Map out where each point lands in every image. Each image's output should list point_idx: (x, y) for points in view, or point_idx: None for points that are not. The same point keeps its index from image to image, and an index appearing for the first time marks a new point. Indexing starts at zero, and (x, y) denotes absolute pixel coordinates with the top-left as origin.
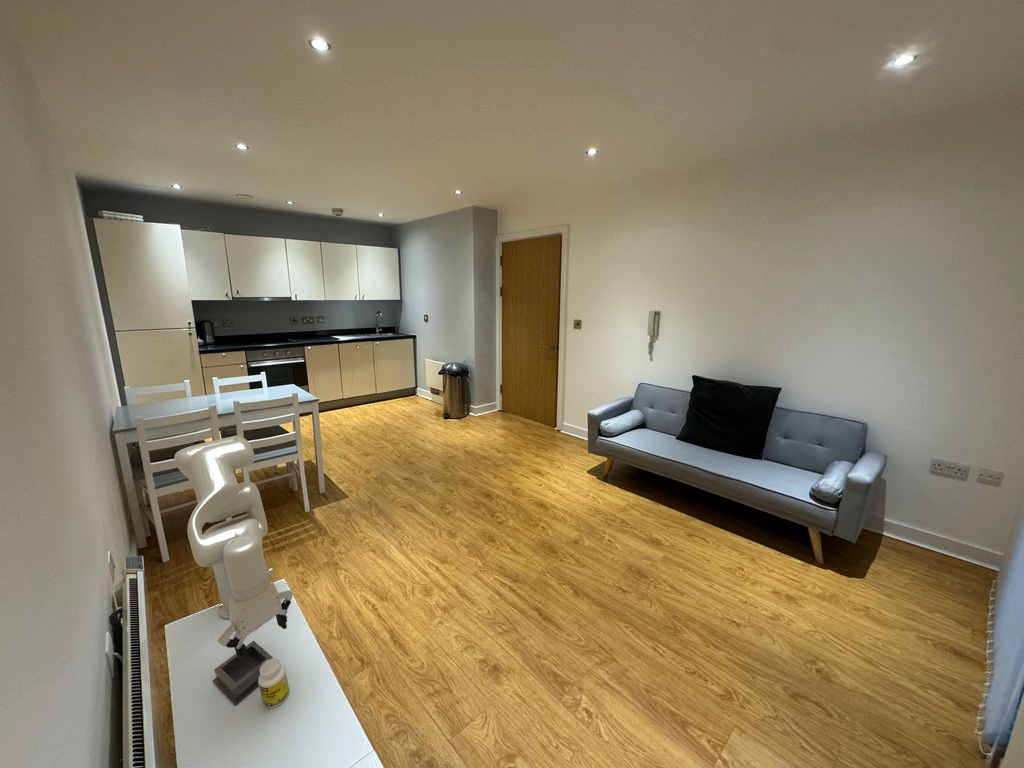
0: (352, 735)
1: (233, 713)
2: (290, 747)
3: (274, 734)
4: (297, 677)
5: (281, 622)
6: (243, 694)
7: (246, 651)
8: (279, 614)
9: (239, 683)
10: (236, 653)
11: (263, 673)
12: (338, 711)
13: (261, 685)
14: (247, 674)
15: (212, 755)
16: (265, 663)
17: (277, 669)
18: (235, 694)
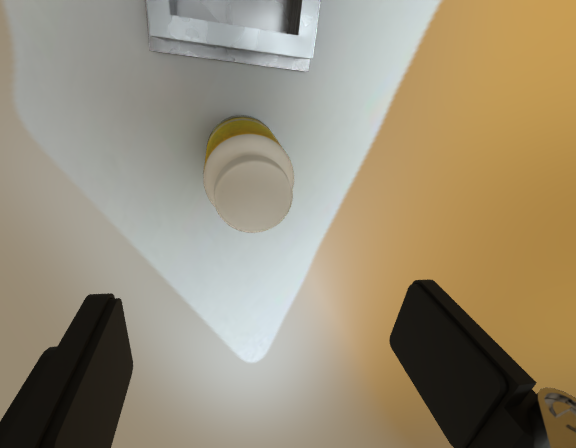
0: (268, 337)
1: (138, 70)
2: (192, 277)
3: (185, 229)
4: (306, 150)
5: (425, 378)
6: (185, 45)
7: (113, 427)
8: (492, 438)
9: (178, 31)
10: (42, 360)
11: (221, 207)
12: (287, 292)
13: (205, 188)
14: (218, 23)
15: (47, 140)
16: (253, 170)
17: (262, 229)
18: (157, 37)
